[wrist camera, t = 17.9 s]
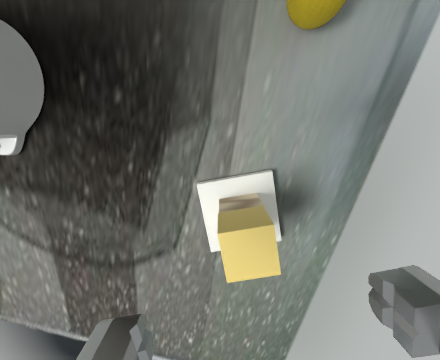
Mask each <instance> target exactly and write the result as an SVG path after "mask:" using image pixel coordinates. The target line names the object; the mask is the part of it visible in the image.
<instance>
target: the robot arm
mask: <svg viewBox="0 0 440 360" xmlns="http://www.w3.org/2000/svg"><path fill="white" fill-rule="evenodd" d="M43 99H44V81H43V76H42V71H41V68H40V65H39V63H38V60H37V58H36V56H35V54H34V52H33V51H32V49H31V48H30V46H29V45H28V43H27V42H26V41H25V39H24V38H23V37H22V36H21V35H20V34H19V33H18V32H17V31H16V30H15V29H13V28H12V27H11V26H10V25H8V24H7V23H5V22H4V21H2V20H0V145H1V147H0V155H16V154H19V153H20V151H21V150H22V147H23V143H24V139H25V134H26V132H27V131H28V129H29V128H30V127H31V125H32V124H33V123H34V122H35V120H36V119H37V117H38V115H39V113H40V111H41V108H42V104H43ZM369 284H370V285H371V286H372V287H373V288H372V290H371V291H370V293H369V303H370V305H371V308H372V310H373V312H374V314H375V315H376V317H377V318H378V319H379V320H380V322H381V323H382V324H383V325H385V326H387V327H389V328H391V329H393V336H394V338H395V339H396V340H397V341H398V342H399V343H400V344H401V346H402V347H403V348H404V349H405V350H406V351H407V352H408V354H409V355H410V356H411V357H412V358H415V357H423V356H430V355H437V354H440V280H438V279H437V278H435V277H433V276H432V275H431V274H429V273H427V272H426V271H424V270H423V269H421V268H420V267H418V266H414V265H412V266H407V267H401V268H398V269H392V270H386V271H381V272H376V273H371V274H370V275H369ZM147 323H148V321H147V319H146V316H145V315H144V314H138V315H132V316H125V317H118V318H114V319H107V320H102V321H100V322H99V323H98V324H97V325H96V327H95V329H94V330H93V332H92V334H91V335H90V337H89V339H88V341H87V342H86V344H85V346H84V347H83V349H82V351H81V352H80V354H79V356H78V357H77V359H76V360H152V356H153V337H152V334H151V332H150V331H149V330H147V329H146V326H147Z"/></svg>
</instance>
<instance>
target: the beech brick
mask: <svg viewBox="0 0 440 360" xmlns="http://www.w3.org/2000/svg"><path fill="white" fill-rule="evenodd" d="M262 205H263V203H262V202H261V200H260V198H259V197H258V195H257V193H252V194H246V195H240V196H234V197H228V198H222V199H219V213H221V212H227V211H233V210H238V209H244V208H250V207H256V206H262ZM263 206H264V205H263Z"/></svg>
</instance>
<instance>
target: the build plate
mask: <svg viewBox="0 0 440 360" xmlns="http://www.w3.org/2000/svg"><path fill="white" fill-rule="evenodd" d="M197 188H198V193H199V197H200V202H201V207H202V212H203V216H204V221H205V226H206V230H207V235H208V240H209V245H210V249H211V252H215V251H221V249H220V244H219V239H218V234H217V231H218V213H219V199H222V198H228V197H234V196H240V195H246V194H252V193H257V195H258V197H259V198H260V200H261V202H262V203H263V205H264V208H265V210H266V211H267V213H268V215H269V217H270V218H271V220H272V222H273V224H274V227H275V235H276V241H281V233H280V226H279V218H278V210H277V203H276V195H275V187H274V180H273V172H272V171H271V170H265V171H260V172H254V173H248V174H243V175H237V176H231V177H226V178H220V179H215V180H209V181H203V182H198V183H197Z"/></svg>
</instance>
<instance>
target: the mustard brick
mask: <svg viewBox="0 0 440 360" xmlns="http://www.w3.org/2000/svg"><path fill="white" fill-rule="evenodd" d="M217 234H218V239H219V244H220V249H221V254H222V259H223V264H224V269H225V274H226V279H227V283H229V282H236V281H242V280H249V279H255V278H261V277H268V276H274V275H281V272H280V264H279V257H278V250H277V242H276V235H275V227H274V224H273V222H272V220H271V218H270V217H269V215H268V213H267V211H266V210H265V208H264V206H263V205H262V206H256V207H250V208H244V209H238V210H233V211H227V212H221V213H218V231H217Z"/></svg>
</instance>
